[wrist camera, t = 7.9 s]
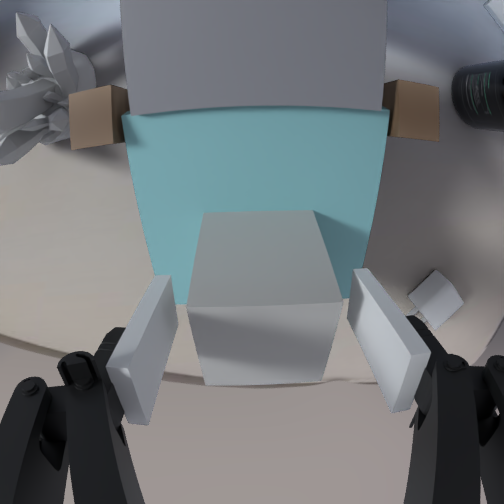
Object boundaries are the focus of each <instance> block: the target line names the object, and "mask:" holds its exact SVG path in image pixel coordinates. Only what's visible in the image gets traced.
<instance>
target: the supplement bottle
mask: <svg viewBox="0 0 504 504" xmlns="http://www.w3.org/2000/svg"><path fill="white" fill-rule="evenodd" d="M452 99H453V103H454V105H455V108H456V110H457V112H458V114H459V115H460V117H461V118H462V119H463V120H464V121H465V122H466V123H467V124H468V125H470V126H472V127H474V128H477V129H484V130H492V131H501V132H504V60H501V61H494V62H488V63H481V64H476V65H470V66H466V67H463V68H461V69H460V70H459V71H458V72H457V73H456V74H455V76H454V78H453V82H452Z"/></svg>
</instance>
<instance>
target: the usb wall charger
mask: <svg viewBox="0 0 504 504" xmlns="http://www.w3.org/2000/svg"><path fill="white" fill-rule="evenodd" d="M408 298H409V299H410V300H411V301H412V303H413V304H414V305H415V307H414V308H413V309H412V310H411V311H410V312H409V313H408V314H407V315H405V316H409V315H415V314H416V313H417V312H418V311H419V312H420V313H421V314H422V315H423V317H422V318H421V319H420V320H422V321H423V322H424V323H425V322H426V321H427V322H428V323H429V324H430V325H431V326H432V328H433V329H434V330H437V329H438V328H439V327H440V326H441V325H442V324H443V323H444V322H445V321H446V320H447V319H448V318H449V317H450V316H451V315H453V314H454V313H455V312H456V311H457V310H458V309H459V308H460V307H461V306H462V305H463V304H464V303H463V301H462V299H461V297H460V296H459V294H458V292H457V290H456V289H455V287H454V286H453V284H452V283H451V282H450V281H449V280H448V279H447V278H445V277H444V276H443V275H442V274H441V273H440V272H439V271H437V270H435V271H434V272H433V273H431V274H430V275H429V276H428V277H427V278H426V279H425V280H424V281H423V282H422V283H421V284H420V285H419V286H418V287H417V288H416V289H415V290H414V291H413V292H412V293H411V294H409V295H408Z"/></svg>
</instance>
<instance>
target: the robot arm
mask: <svg viewBox="0 0 504 504" xmlns="http://www.w3.org/2000/svg"><path fill="white" fill-rule="evenodd" d="M347 319H348V321H349V323H350V325H351V327H352V329H353V331H354V333H355V336H356V338H357V340H358V342H359V344H360V346H361V348H362V350H363V352H364V354H365V356H366V359H367V361H368V363H369V365H370V367H371V369H372V371H373V374H374V376H375V378H376V380H377V382H378V385H379V387H380V389H381V391H382V393H383V395H384V398H385V400H386V402H387V404H388V407H389V409H390V412H391V413H395V412H400V411H405V410H409V409H410V407H411V405H412V402H413V400H414V399H415V401H416V402H417V404H418V408H417V410H416V412H415V415H414V417H413V419H412V422H411V424H410V426H409V427H410V428H411V427H412V426H413V424H414V434H413V444H412V453H411V462H410V468H409V475H408V482H407V488H406V493H405V499H404V504H480V486H481V485H480V481H481V480H482V484H483V487H484V492H485V496H486V500H487V504H504V356H501V355H495V356H491V357H490V358H489V359H488V360H487V363H486V365H485V367H482V366H481V367H479V366H469V365H468V362H467V361H466V360H465V359H464V358H462V357H460V356H458V355H454V354H448V353H447V352H446V351H445V349H444V348H443V347H442V345H441V344H440V343H439V342H438V340H437V339H436V338H435V336H433V334H432V333H431V331H430V330H428V327H427V326H426V325H425V324H424V322H423V321H422V320H420V319H418V318H417V317H415V316H414V315H409V316H405V315H404V314H403V313H402V311H401V310H400V309H399V307H398V306H397V305H396V304H395V302H394V301H393V300H392V298H391V297H390V296H389V295H388V293H387V292H386V291H385V289H384V288H383V287H382V286H381V284H380V283H379V282H378V281H377V279H376V278H375V277H374V276H373V274H372V273H371V272H370V271H369V269H368V268H361V269H353V272H352V281H351V290H350V298H349V306H348V314H347ZM177 327H178V319H177V312H176V306H175V300H174V293H173V286H172V279H171V275H155V277H154V279H153V280H152V282H151V284H150V286H149V287H148V289H147V291H146V293H145V294H144V296H143V298H142V300H141V301H140V303H139V305H138V307H137V309H136V310H135V312H134V314H133V316H132V318H131V319H130V321H129V323H128V325H127V327H126V328H121V327H115V328H114V329H112V330H111V331H110V332H109V333H107V334H106V336H105V338H104V339H103V341H102V344H100V346H99V348H98V350H97V351H96V353H95V355H94V356H93V355H91V354H90V353H89V352H84V351H77V352H73V353H70V354H68V355H66V356H64V357H63V358H62V359H61V360H60V361H59V363H58V366H57V368H58V371H59V373H60V375H61V377H62V379H63V381H64V384H65V385H64V386H55V387H47V385H46V383H45V381H44V380H43V379H41V378H40V377H29V378H26V379H24V380H22V381H21V382H20V383H19V384H18V385H17V387H16V388H15V390H14V392H13V395H12V397H11V399H10V401H9V404H8V406H7V408H6V411H5V413H4V416H3V418H2V420H1V423H0V504H63V501H64V493H65V487H66V480H67V473H68V467H69V465H70V474H71V482H72V488H73V495H74V502H75V504H145V502H144V499H143V496H142V493H141V490H140V487H139V483H138V480H137V477H136V473H135V470H134V466H133V463H132V459H131V455H130V452H129V448H128V444H127V440H126V436H125V431H124V428H123V426H122V424H121V421H122V418H123V415H124V414H125V416H126V419H127V421H128V423H131V424H139V425H149V422H150V418H151V414H152V411H153V407H154V404H155V400H156V397H157V393H158V390H159V386H160V383H161V380H162V376H163V373H164V369H165V366H166V363H167V360H168V356H169V353H170V350H171V346H172V343H173V340H174V337H175V334H176V330H177ZM497 408H498V410H499V413H500V414H499V415H497V414H496V411H495V410H496V409H497ZM480 476H481V480H480Z"/></svg>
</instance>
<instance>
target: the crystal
mask: <svg viewBox="0 0 504 504" xmlns="http://www.w3.org/2000/svg"><path fill="white" fill-rule="evenodd" d="M16 32H17V37H18V39H19V40H20V41H21V42H22V43H23V44H24V45H25V47H26V48H27V49H28V50H29V52H30V53H31V54H26V55H27V61H28V66H27V67H26V68H24V69H23V70H22V71H23V73H19V72H16V71H12V72H9V73H7V75H8V76H9V77H6V87H7V91H0V166H1V165H7V164H14V163H15V162H16V161H18V160H19V159H20V158H21V157H23V156H24V155H25V154H27V153H28V152H29V151H30V150H31V149H32V148H33V147H34V146H35V145H36V144H37V143H39V142H40V143H42V144H44V145H47V144H51V143H54V142H57V141H61V140H64V139H67V138H70V124H69V94H73V93H77V92H81V91H85V90H89V89H93V88H96V87H97V84H96V78H95V71H94V67H93V66H92V64H91V62H90V61H89V59H88V58H87V56H86V55H85V54H82V53H79V52H76V51H73V50H71V49H70V43H69V42H68V41H67V40H66V39H65V38H64V37H63V36H62V35H61V34H60V33H59V32H58V30H57V29H56V28H55V27H54V26H53V25H52V24H50V26H49V30H48V34H47V32H46V30H45V28H44V26H43V25H42V23H41V21H40V20H39V18H38V16H36V15H31V14H26V13H21V12H16Z"/></svg>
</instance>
